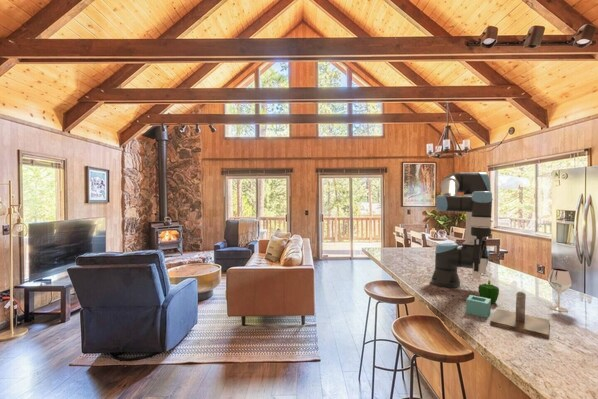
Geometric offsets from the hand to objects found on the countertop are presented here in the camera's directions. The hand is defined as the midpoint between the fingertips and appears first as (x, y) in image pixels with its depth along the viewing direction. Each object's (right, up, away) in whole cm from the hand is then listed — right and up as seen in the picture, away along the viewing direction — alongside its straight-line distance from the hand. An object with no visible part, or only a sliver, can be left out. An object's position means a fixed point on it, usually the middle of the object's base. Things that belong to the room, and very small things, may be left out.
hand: (479, 275), depth 135 cm
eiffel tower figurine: (+40, -17, +70) cm, 82 cm away
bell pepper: (+13, -16, +15) cm, 26 cm away
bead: (0, -16, 0) cm, 16 cm away
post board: (+10, -17, -11) cm, 22 cm away
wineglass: (+40, -17, +7) cm, 44 cm away
